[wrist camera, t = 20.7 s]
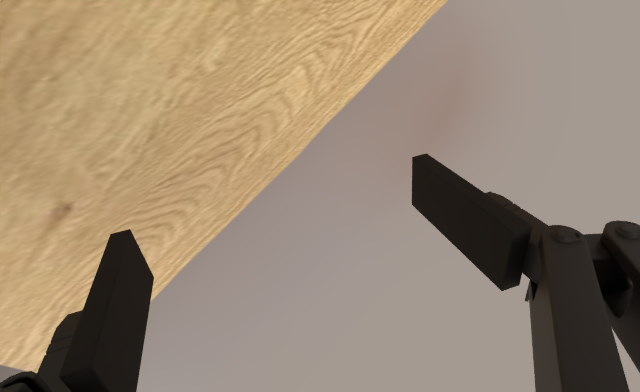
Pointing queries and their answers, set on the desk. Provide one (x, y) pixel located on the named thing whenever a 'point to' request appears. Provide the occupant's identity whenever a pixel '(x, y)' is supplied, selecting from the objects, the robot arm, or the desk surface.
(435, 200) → the robot arm
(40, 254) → the desk surface
